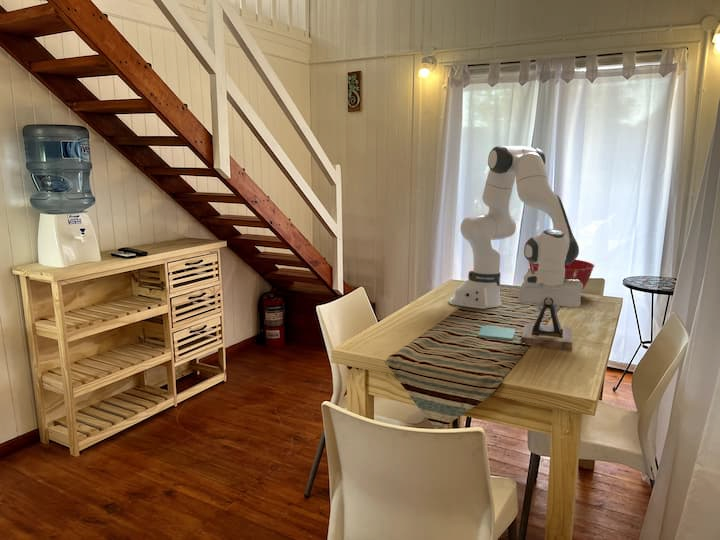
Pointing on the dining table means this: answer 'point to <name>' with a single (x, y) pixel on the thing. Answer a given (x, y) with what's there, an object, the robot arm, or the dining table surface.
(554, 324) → the dark gray a-frame stand
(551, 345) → the walnut holder
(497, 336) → the teal mat
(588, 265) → the mixing bowl
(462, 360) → the dining table surface
